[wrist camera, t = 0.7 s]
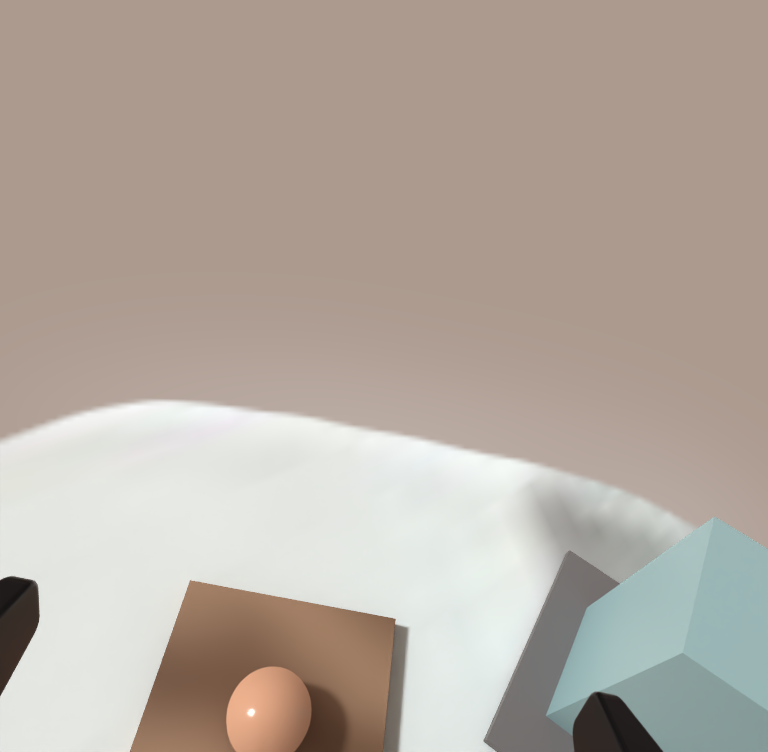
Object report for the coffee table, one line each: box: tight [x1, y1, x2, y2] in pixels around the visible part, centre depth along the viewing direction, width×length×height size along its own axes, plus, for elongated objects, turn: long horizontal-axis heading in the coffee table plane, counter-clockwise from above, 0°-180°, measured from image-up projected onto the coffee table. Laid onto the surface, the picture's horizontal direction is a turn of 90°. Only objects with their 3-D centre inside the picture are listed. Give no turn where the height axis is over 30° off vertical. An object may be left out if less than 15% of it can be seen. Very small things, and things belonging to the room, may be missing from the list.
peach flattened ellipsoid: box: [226, 667, 312, 752], centre depth 20 cm, size 3×3×1 cm
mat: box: [484, 551, 619, 752], centre depth 24 cm, size 10×10×1 cm
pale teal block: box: [546, 517, 768, 752], centre depth 21 cm, size 6×6×10 cm
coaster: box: [130, 580, 395, 752], centre depth 21 cm, size 9×9×1 cm
